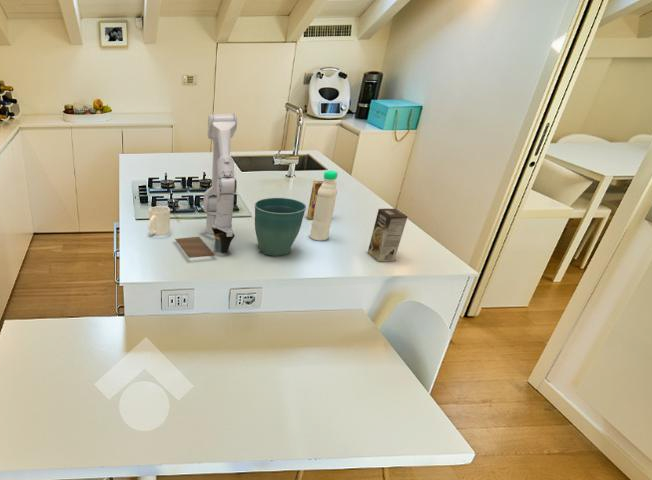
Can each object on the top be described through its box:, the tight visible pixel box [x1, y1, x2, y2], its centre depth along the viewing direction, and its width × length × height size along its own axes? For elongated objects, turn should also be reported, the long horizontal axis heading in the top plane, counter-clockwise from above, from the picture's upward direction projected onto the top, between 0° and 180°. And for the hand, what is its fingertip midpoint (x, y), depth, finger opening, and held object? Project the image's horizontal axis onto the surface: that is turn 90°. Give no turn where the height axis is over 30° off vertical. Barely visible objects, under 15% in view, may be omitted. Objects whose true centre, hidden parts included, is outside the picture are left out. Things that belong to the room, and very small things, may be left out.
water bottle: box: [309, 170, 338, 241], centre depth 194 cm, size 7×7×25 cm
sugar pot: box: [214, 233, 230, 253], centre depth 188 cm, size 6×6×8 cm
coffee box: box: [367, 208, 408, 262], centre depth 180 cm, size 9×6×16 cm
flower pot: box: [254, 197, 307, 256], centre depth 186 cm, size 18×18×17 cm
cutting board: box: [174, 236, 215, 259], centre depth 192 cm, size 20×10×2 cm, turn 12°
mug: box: [148, 205, 171, 236], centre depth 203 cm, size 12×8×10 cm
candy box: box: [306, 180, 337, 220], centre depth 216 cm, size 9×4×15 cm, turn 86°
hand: (221, 249), depth 189 cm, fingers closed on sugar pot, 5 cm apart
